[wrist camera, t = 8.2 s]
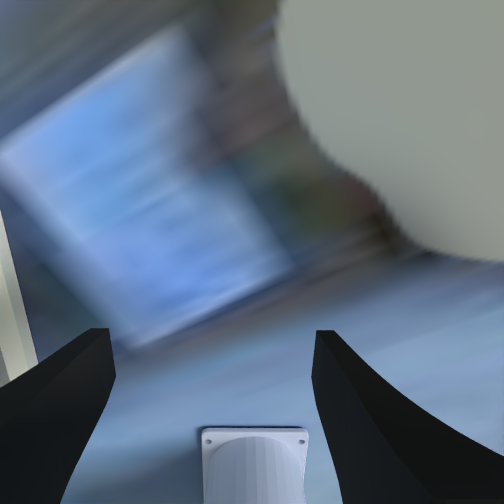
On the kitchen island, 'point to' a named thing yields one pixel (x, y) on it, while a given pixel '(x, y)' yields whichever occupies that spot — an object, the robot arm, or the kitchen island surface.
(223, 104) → the kitchen island surface
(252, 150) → the kitchen island surface
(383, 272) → the kitchen island surface
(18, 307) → the coupling stand
